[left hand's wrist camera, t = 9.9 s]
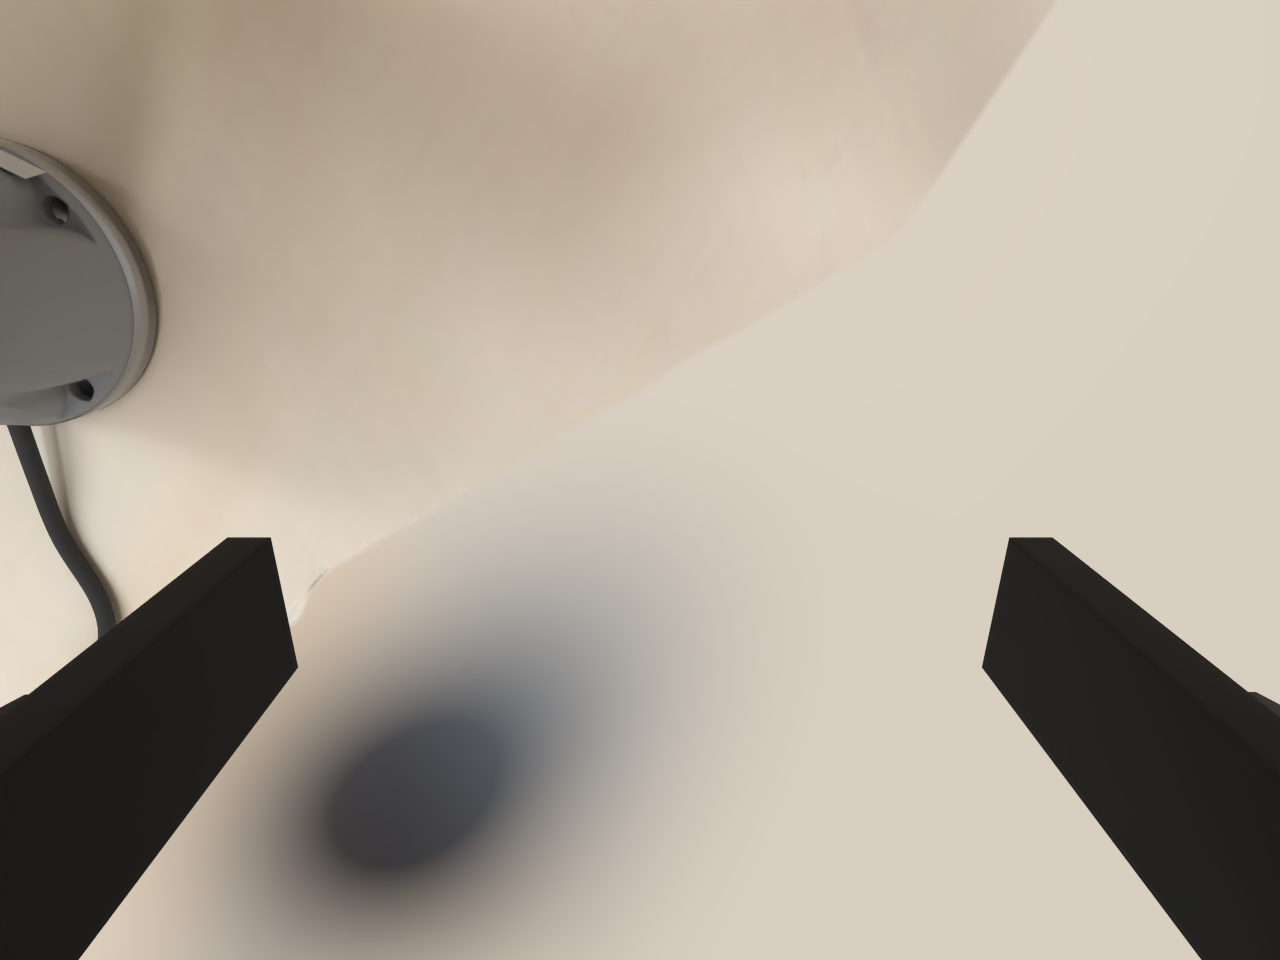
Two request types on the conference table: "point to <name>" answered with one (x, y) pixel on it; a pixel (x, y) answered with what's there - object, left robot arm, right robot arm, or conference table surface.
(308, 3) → the conference table surface
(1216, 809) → the left robot arm
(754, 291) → the conference table surface
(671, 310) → the conference table surface
